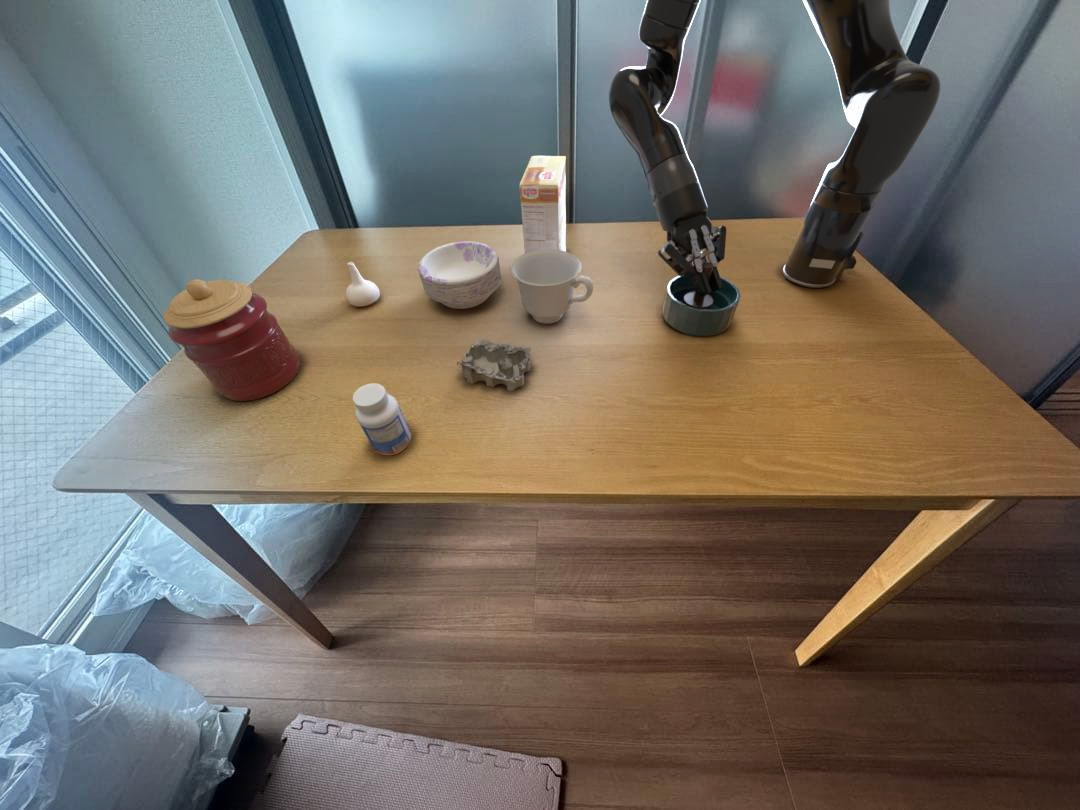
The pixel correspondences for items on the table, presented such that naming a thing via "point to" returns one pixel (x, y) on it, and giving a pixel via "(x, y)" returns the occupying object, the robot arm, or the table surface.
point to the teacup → (549, 283)
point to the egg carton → (496, 364)
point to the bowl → (699, 319)
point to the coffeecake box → (544, 203)
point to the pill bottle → (381, 419)
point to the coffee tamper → (694, 299)
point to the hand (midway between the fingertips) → (711, 292)
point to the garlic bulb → (360, 289)
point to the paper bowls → (460, 274)
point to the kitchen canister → (232, 338)
